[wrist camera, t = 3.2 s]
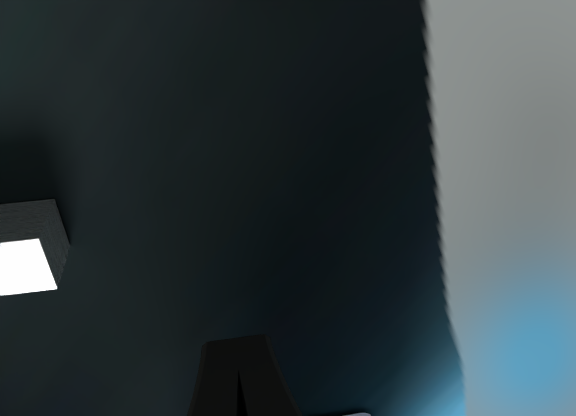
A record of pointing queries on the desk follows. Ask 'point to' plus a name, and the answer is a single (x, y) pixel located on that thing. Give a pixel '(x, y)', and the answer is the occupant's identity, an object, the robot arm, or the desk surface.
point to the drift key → (31, 246)
